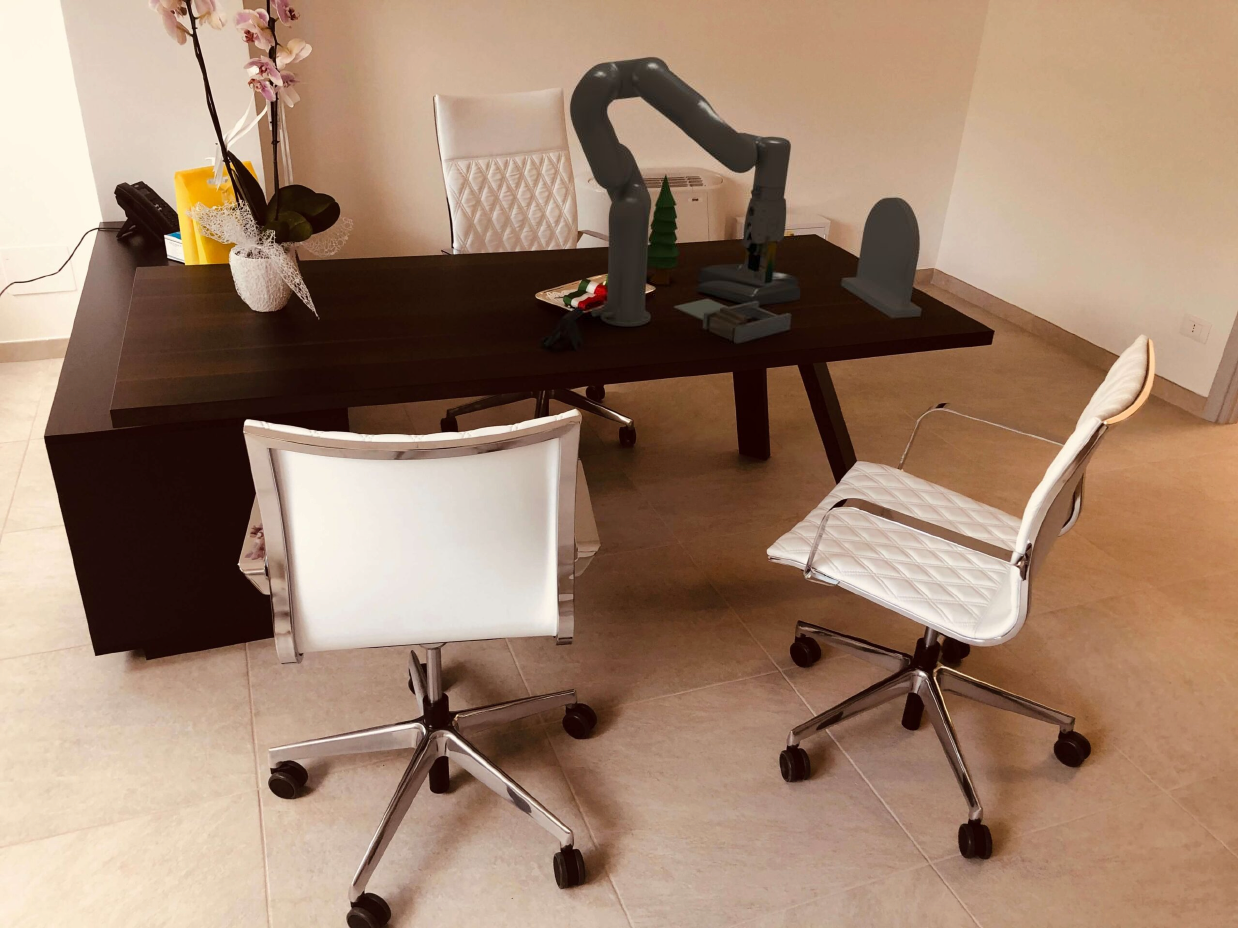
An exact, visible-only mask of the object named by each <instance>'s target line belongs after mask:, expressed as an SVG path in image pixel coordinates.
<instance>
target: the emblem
mask: <svg viewBox="0 0 1238 928" xmlns="http://www.w3.org/2000/svg"><path fill="white" fill-rule="evenodd" d="M743 271H744V263H733V264H729V263H728V264H714V265H713V264H712V265H710V266H706V267H703V268H700V269H699V271H698V275H697V281H698V283H699V284H698V285H696V286H697V287H696V289H697V291H698V292H699V293H703V294H707V295H710V296H713V297H717V298H720V299H723V300H727V301H731V302H734V303H737V304H739V305H740V304H744V303H748V302H753V301H758V302H759V307H761V306H768V305H776V304H781V303H783V304H784V303H789V302H796V301H799V300H800V297H801V287H800V286H798V284H799V283H798V282H799V281H798V279H797V277H795V276H793V275H791V274H788V273H784V272H779V271H776V270H773V276H772V282H770V283H766V284H762V283H760V282H758V281H755V280H752V279H750V278H747V277H743Z"/></svg>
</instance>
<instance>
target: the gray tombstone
mask: <svg viewBox="0 0 1238 928" xmlns="http://www.w3.org/2000/svg"><path fill="white" fill-rule="evenodd" d="M920 237H921V236H920V229H919V223H918V219H917V217H916V214H915V212H914V209H913V208H912V207H911V205H910V204H909V203H908V202H907V201H906V200H905V199H903V198H900V197H895V196H894V197H883V198H882V199H880V200H878V201H877V202H876V203H875V204H874V205H873V207H871V209H870V211H869V213H868V215H867V218H866V220H865V223H864V227H863V232H862V239H861V244H860V251H859V256H858V257H859V258H858V262H857V270H856V271H857V272H856V276H854V277H842V278H841V283H840V284H841V285H840V286H841V287H843V288H844V289H845V290H848V291H849V292H850V293H852V294H853V295H855V296H857V297H858V298H860V299H862V300H863V302H864V301H865V302H866V303H868V304H869V305H870V306H872V307H874V308H875V309H877V310H879V311H880V312H882V313H883V314H885V315H887V316H888V317H889V318H891V319H904V318H915V317H916V318H917V317H921V316H922V315H921V314H922V308H921V307H919V306H918V305H917V304H915V303H914V302H912V300H911V298H912V294H913V288H914V283H915V278H916V273H917V265H918V262H919V256H920V249H921V248H920V247H921V242H920V241H921V238H920Z"/></svg>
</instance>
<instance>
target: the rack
mask: <svg viewBox="0 0 1238 928" xmlns="http://www.w3.org/2000/svg"><path fill="white" fill-rule="evenodd" d="M727 308H728V309H731V310H733V311H736V312H738V313H741V314H743V315H746V316H747V320H749V319H750V320H751V319H757V320H756V321H752V322H747V324H743V325H739V326H735V335H734V340H733V343H735V344H741V343H745V342H749V341H752V340H757V339H761V338H764V337H767V336H772V335H775V334H779V333H783V332H785V331H790V328H791V320H792V313H789V312H786V313H782V314H779V315H778V314H776V313H773V312H771V311H768V310H766V309H763V308H760V306H759V302H758V301H753V302H748V303H744V304H740V303H739V304H736V305H732V306H727ZM717 312H720V309H719V310H715V311H711V312H706V313H704V318H703V320H702V329H703V330H705V331H707V330H710V318H712V317H715V313H717Z"/></svg>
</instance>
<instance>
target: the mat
mask: <svg viewBox="0 0 1238 928" xmlns="http://www.w3.org/2000/svg"><path fill="white" fill-rule="evenodd" d="M722 307H726V308H727V307H728V306H727V305H724V304H722V303H720V302H716V301H715V300H712V299H710V298H705V299H704V298H703V299H701V300H700V299H699V300H697V301H691V302H686V303H683V304H679V305H674V306H673V309H675V310H678V311H680V312H683V313H685V314H687V315H690V316H691V317H694V318H695V319H698V320H701V321H703V318H704V313H706V312H711V311H715V310H719V309H720V308H722Z"/></svg>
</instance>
